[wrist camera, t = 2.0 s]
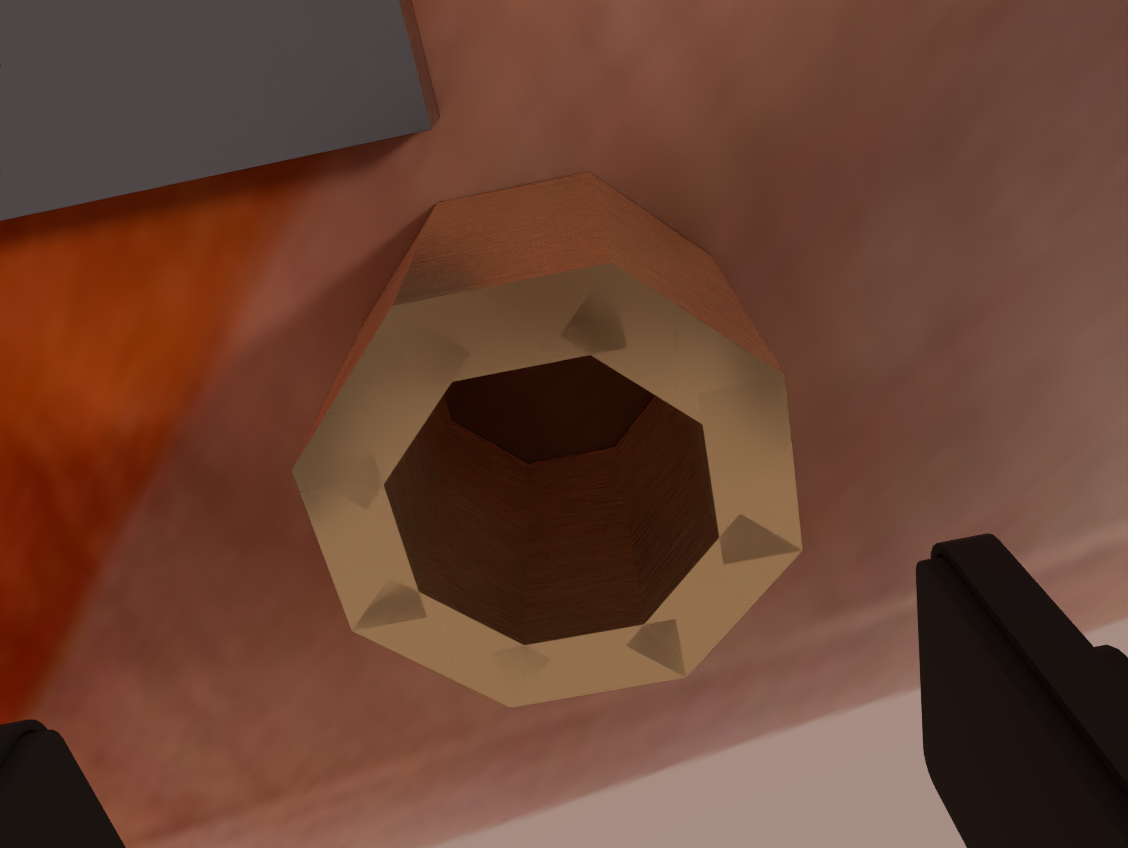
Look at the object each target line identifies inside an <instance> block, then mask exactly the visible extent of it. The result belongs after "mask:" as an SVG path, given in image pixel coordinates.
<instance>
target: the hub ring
mask: <svg viewBox="0 0 1128 848" xmlns="http://www.w3.org/2000/svg"><path fill="white" fill-rule="evenodd" d="M588 355H591V356H593V357H594V358H596V359H598V360H599V361H601V362H602V363H604V364H606V365H607V366H609V367H611V368H612V369H614V370H615V371H617V372H619V373H620V374H622V375H623V376H625V377H627V378H628V379H630V380H632V381H633V382H635V383H636V384H638V385H640V386H641V387H643V388H644V389H646V390H648V391H649V392H651V393H653V394H654V395H655V396H654V397H653V399H652V400H651V401H650V403H649V404H648V405H647V406H646V408H645V409H644V410H643V412H642V413H641V414H640V416H639V417H638V418H637V419H636V421H635V422H634V423H633V425H632V426H631V427H630V428H629V430H628V431H627V432H626V434H625V435H624V436H623V438H622V439H621V440H620V441H619V443H618V444H617V445H616V447H613V448H608V449H603V450H597V451H592V452H587V453H581V454H576V455H571V456H565V457H560V458H555V459H549V460H544V461H539V462H534V463H526V462H524V461H522V460H521V459H519V458H517V457H515V456H514V455H512V454H510V453H508V452H507V451H505V450H503V449H501V448H500V447H498V446H496V445H494V444H493V443H491V442H489V441H487V440H486V439H484V438H482V437H480V436H479V435H477V434H475V433H473V432H472V431H470V430H468V429H466V428H464V427H463V426H461V425H459V424H457V423H456V422H454V421H452V420H451V417H450V413H449V410H448V406H447V403H446V399H445V395H444V393H445V392H446V390H447V389H448V387H449V386H450V384H451V383H452V382H454V381H459V380H464V379H469V378H474V377H480V376H485V375H490V374H495V373H500V372H505V371H510V370H516V369H521V368H526V367H531V366H536V365H541V364H546V363H552V362H557V361H562V360H567V359H572V358H577V357H582V356H588ZM292 473H293V476H294V478H295V481H296V484H297V486H298V489H299V492H300V494H301V497H302V500H303V502H304V505H305V508H306V510H307V513H308V516H309V518H310V521H311V524H312V526H313V529H314V532H315V534H316V537H317V540H318V542H319V545H320V548H321V550H322V553H323V556H324V558H325V561H326V564H327V566H328V569H329V572H330V574H331V577H332V580H333V582H334V585H335V588H336V590H337V593H338V596H339V598H340V601H341V604H342V606H343V609H344V612H345V614H346V617H347V620H348V622H349V625H350V628H351V630H352V631H353V632H355V633H357V634H359V635H361V636H363V637H365V638H367V639H369V640H371V641H373V642H375V643H377V644H380V645H382V646H384V647H386V648H388V649H390V650H392V651H394V652H396V653H398V654H400V655H402V656H404V657H406V658H408V659H411V660H413V661H415V662H417V663H419V664H421V665H423V666H425V667H427V668H429V669H431V670H433V671H435V672H437V673H439V674H441V675H444V676H446V677H448V678H450V679H452V680H454V681H456V682H458V683H460V684H462V685H464V686H466V687H468V688H470V689H472V690H474V691H477V692H479V693H481V694H483V695H485V696H487V697H489V698H491V699H493V700H495V701H497V702H499V703H501V704H503V705H505V706H508V707H510V708H512V707H518V706H524V705H530V704H536V703H542V702H547V701H553V700H559V699H565V698H571V697H577V696H582V695H588V694H594V693H600V692H606V691H612V690H617V689H623V688H629V687H635V686H641V685H647V684H652V683H658V682H664V681H670V680H676V679H682V678H687V676H688V675H689V674H690V673H691V672H692V671H693V670H694V669H695V668H696V667H697V666H698V664H699V663H700V662H701V661H702V660H703V659H704V658H705V657H706V656H707V655H708V653H709V652H710V651H711V650H712V649H713V648H714V647H715V646H716V645H717V644H718V643H719V641H720V640H721V639H722V638H723V637H724V636H725V635H726V634H727V633H728V632H729V631H730V629H731V628H732V627H733V626H734V625H735V624H736V623H737V622H738V621H739V620H740V619H741V617H742V616H743V615H744V614H745V613H746V612H747V611H748V610H749V609H750V608H751V606H752V605H753V604H754V603H755V602H756V601H757V600H758V599H759V598H760V597H761V596H762V594H763V593H764V592H765V591H766V590H767V589H768V588H769V587H770V586H771V585H772V584H773V582H774V581H775V580H776V579H777V578H778V577H779V576H780V575H781V574H782V573H783V571H784V570H785V569H786V568H787V567H788V566H789V565H790V564H791V563H792V562H793V561H794V559H795V558H796V557H797V556H798V555H799V554H800V553H801V552H802V551H803V549H802V539H801V529H800V519H799V510H798V500H797V490H796V480H795V470H794V460H793V450H792V441H791V431H790V421H789V411H788V401H787V391H786V382H785V375H784V374H783V372H782V370H781V369H780V367H779V366H778V364H777V362H776V361H775V359H774V357H773V356H772V354H771V352H770V351H769V349H768V348H767V346H766V344H765V343H764V341H763V339H762V338H761V336H760V335H759V333H758V331H757V330H756V328H755V326H754V325H753V323H752V322H751V320H750V318H749V317H748V315H747V313H746V312H745V310H744V308H743V307H742V305H741V304H740V302H739V300H738V299H737V297H736V295H735V294H734V292H733V291H732V289H731V287H730V286H729V284H728V282H727V281H726V279H725V278H724V276H723V274H722V273H721V271H720V269H719V268H718V266H717V264H716V263H715V261H714V260H713V258H712V256H711V255H710V254H708V253H707V252H705V251H704V250H702V249H701V248H699V247H698V246H696V245H695V244H693V243H692V242H690V241H689V240H688V239H686V238H685V237H683V236H682V235H680V234H679V233H677V232H676V231H674V230H673V229H671V228H670V227H668V226H667V225H666V224H664V223H663V222H661V221H660V220H658V219H657V218H655V217H654V216H652V215H651V214H649V213H648V212H646V211H645V210H643V209H642V208H641V207H639V206H638V205H636V204H635V203H633V202H632V201H630V200H629V199H627V198H626V197H624V196H623V195H621V194H620V193H619V192H617V191H616V190H614V189H613V188H611V187H610V186H608V185H607V184H605V183H604V182H602V181H601V180H599V179H598V178H597V177H595V176H594V175H592V174H591V173H589V172H585V173H580V174H575V175H570V176H565V177H560V178H556V179H551V180H546V181H541V182H536V183H532V184H527V185H522V186H517V187H512V188H507V189H503V190H498V191H493V192H488V193H483V194H478V195H474V196H469V197H464V198H459V199H454V200H449V201H445V202H440V203H437V204H436V205H435V207H434V209H433V210H432V212H431V213H430V215H429V217H428V218H427V220H426V222H425V223H424V225H423V227H422V228H421V230H420V232H419V233H418V235H417V237H416V238H415V240H414V242H413V243H412V245H411V246H410V248H409V250H408V251H407V253H406V255H405V256H404V258H403V260H402V261H401V263H400V265H399V266H398V268H397V270H396V271H395V273H394V275H393V276H392V278H391V279H390V281H389V283H388V284H387V286H386V288H385V289H384V291H383V293H382V294H381V296H380V298H379V299H378V301H377V303H376V304H375V306H374V308H373V309H372V311H371V312H370V314H369V316H368V317H367V319H366V321H365V322H364V324H363V326H362V328H361V330H360V332H359V334H358V336H357V338H356V340H355V342H354V344H353V346H352V348H351V350H350V352H349V354H348V356H347V358H346V360H345V362H344V364H343V366H342V368H341V370H340V372H339V375H338V377H337V379H336V381H335V383H334V385H333V387H332V389H331V391H330V393H329V395H328V397H327V399H326V401H325V403H324V405H323V407H322V409H321V411H320V413H319V415H318V417H317V419H316V421H315V423H314V425H313V427H312V429H311V431H310V433H309V435H308V437H307V439H306V441H305V443H304V446H303V448H302V450H301V452H300V454H299V456H298V458H297V460H296V462H295V464H294V466H293V468H292Z"/></svg>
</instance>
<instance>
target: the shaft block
mask: <svg viewBox="0 0 1128 848" xmlns="http://www.w3.org/2000/svg"><path fill="white" fill-rule="evenodd" d="M439 117H440V115H439V111H438V107H437V103H436V99H435V95H434V91H433V87H432V83H431V79H430V75H429V70H428V66H427V62H426V58H425V54H424V50H423V46H422V42H421V38H420V34H419V30H418V26H417V22H416V18H415V14H414V10H413V6H412V2H411V0H0V221H1V220H6V219H11V218H16V217H20V216H25V215H30V214H34V213H39V212H44V211H49V210H53V209H58V208H63V207H67V206H72V205H77V204H82V203H86V202H91V201H96V200H100V199H105V198H110V197H115V196H119V195H124V194H129V193H133V192H138V191H143V190H148V189H152V188H157V187H162V186H166V185H171V184H176V183H181V182H185V181H190V180H195V179H199V178H204V177H209V176H214V175H218V174H223V173H228V172H232V171H237V170H242V169H247V168H251V167H256V166H261V165H265V164H270V163H275V162H280V161H284V160H289V159H294V158H298V157H303V156H308V155H313V154H317V153H322V152H327V151H331V150H336V149H341V148H346V147H350V146H355V145H360V144H364V143H369V142H374V141H378V140H383V139H388V138H393V137H397V136H402V135H407V134H411V133H416V132H421V131H426V130H430V129H432V128H433V126H434V125H435V123H436V122H437V120H438V119H439Z"/></svg>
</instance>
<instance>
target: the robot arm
mask: <svg viewBox="0 0 1128 848" xmlns="http://www.w3.org/2000/svg"><path fill="white" fill-rule="evenodd" d="M916 586H917V610H918V634H919V658H920V681H921V705H922V729H923V749H924V756H925V761H926V765H927V768H928V772H929V774H930V777H931V779H932V782H933V784H934V786H935V788H936V790H937V792H938V794H939V795H940V798H941V799H942V801H943V803H944V805H945V807H946V809H947V811H948V813H949V815H950V816H951V818H952V820H953V822H954V824H955V825H956V828H957V830H958V832H959V833H960V835H961V837H962V839H963V841H964V843H965V845H966V847H967V848H1128V657H1127V656H1126V655H1125V654H1123V653H1122V652H1121V651H1120V650H1119V649H1117V648H1114V647H1112V646H1109V645H1103V646H1097V647H1093V646H1092V644H1091V643H1090V642H1089V641H1088V640H1087V639H1086V638H1085V636H1084V635H1083V634H1082V633H1081V632H1080V631H1079V630H1078V629H1077V627H1076V626H1075V625H1074V624H1073V623H1072V622H1071V621H1070V620H1069V618H1068V617H1067V616H1066V615H1065V614H1064V613H1063V612H1062V610H1061V609H1060V608H1059V607H1058V606H1057V605H1056V604H1055V603H1054V601H1053V600H1052V599H1051V598H1050V597H1049V596H1048V595H1047V594H1046V592H1045V591H1044V590H1043V589H1042V588H1041V587H1040V586H1039V584H1038V583H1037V582H1036V581H1035V580H1034V579H1033V578H1032V577H1031V575H1030V574H1029V573H1028V572H1027V571H1026V570H1025V569H1024V567H1023V566H1022V565H1021V564H1020V563H1019V562H1018V561H1017V560H1016V558H1015V557H1014V556H1013V555H1012V554H1011V553H1010V552H1009V551H1008V549H1007V548H1006V547H1005V546H1004V545H1003V544H1002V543H1001V541H1000V540H999V539H997V538H996V537H995V536H994V535H992V534H988V533H987V534H982V535H977V536H972V537H966V538H961V539H956V540H951V541H946V542H941V543H936V544H935V545H934V546H933V548H932V551H931V559H927V560H922V561H919V562H918V563H917V566H916ZM0 848H126V847H125V846H124V844H123V842H122V840H121V839H120V837H119V835H118V833H117V832H116V830H115V828H114V826H113V825H112V823H111V821H110V820H109V818H108V816H107V814H106V813H105V811H104V809H103V807H102V806H101V804H100V802H99V800H98V799H97V797H96V795H95V793H94V792H93V790H92V788H91V786H90V785H89V783H88V781H87V779H86V778H85V776H84V774H83V772H82V771H81V769H80V767H79V765H78V764H77V762H76V760H75V758H74V757H73V755H72V753H71V751H70V750H69V748H68V746H67V744H66V743H65V741H64V739H63V738H62V736H61V735H60V734H59V733H58V732H56V731H55V730H47V728H46V727H45V726H44V725H43V724H42V723H40V722H39V721H37V720H23V721H18V722H13V723H8V724H3V725H0Z"/></svg>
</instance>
